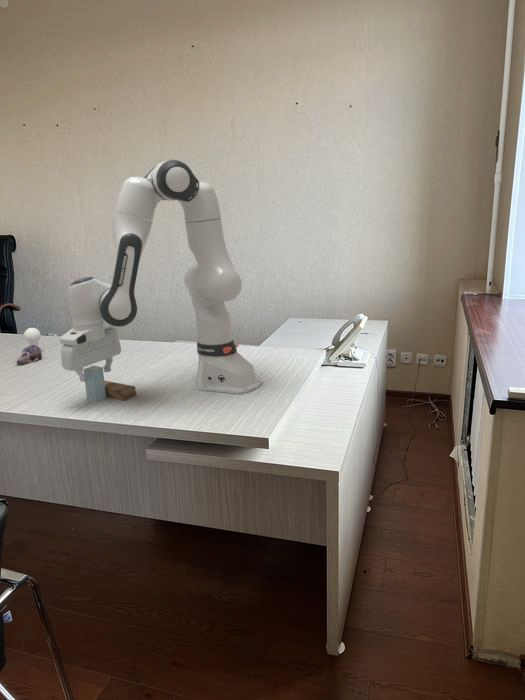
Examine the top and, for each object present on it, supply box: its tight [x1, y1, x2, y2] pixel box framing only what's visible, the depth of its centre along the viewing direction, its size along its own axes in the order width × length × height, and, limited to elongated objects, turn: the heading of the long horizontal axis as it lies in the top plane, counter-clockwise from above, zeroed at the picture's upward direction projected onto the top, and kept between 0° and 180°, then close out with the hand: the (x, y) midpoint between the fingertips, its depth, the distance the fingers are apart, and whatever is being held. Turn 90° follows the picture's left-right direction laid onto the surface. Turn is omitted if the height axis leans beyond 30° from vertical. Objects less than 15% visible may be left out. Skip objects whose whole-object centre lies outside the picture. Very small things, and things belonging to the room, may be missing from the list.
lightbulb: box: [23, 327, 42, 347], centre depth 217 cm, size 6×6×11 cm
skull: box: [16, 345, 43, 366], centre depth 206 cm, size 12×8×6 cm, turn 161°
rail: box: [104, 379, 137, 402], centre depth 168 cm, size 16×5×3 cm, turn 59°
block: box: [83, 364, 107, 403], centre depth 163 cm, size 4×4×10 cm
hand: (96, 376), depth 163 cm, fingers open, 8 cm apart
